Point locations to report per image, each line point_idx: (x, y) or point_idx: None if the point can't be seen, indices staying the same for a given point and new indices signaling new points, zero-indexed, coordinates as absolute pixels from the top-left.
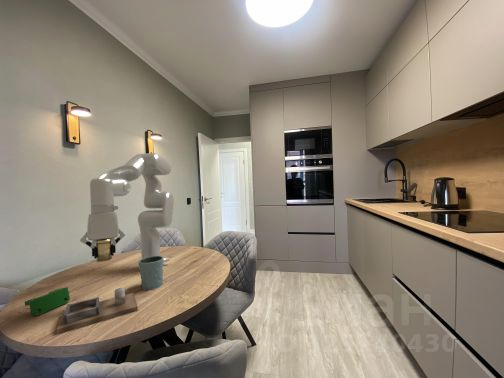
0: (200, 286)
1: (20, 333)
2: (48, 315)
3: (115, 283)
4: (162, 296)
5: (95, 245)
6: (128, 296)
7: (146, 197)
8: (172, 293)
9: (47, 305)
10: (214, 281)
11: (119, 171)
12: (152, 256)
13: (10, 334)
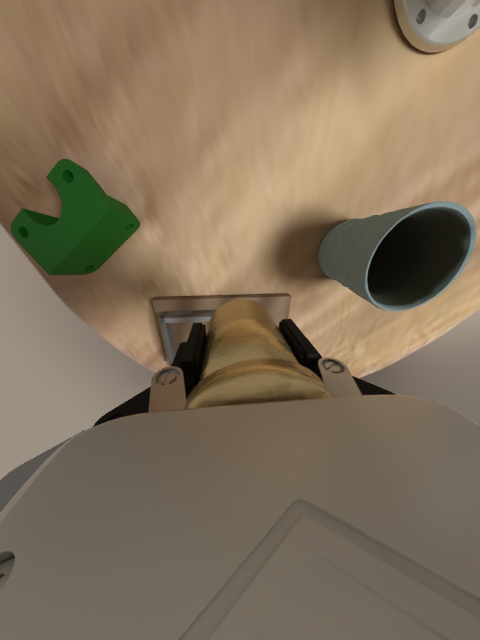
0: (405, 327)
1: (104, 327)
2: (121, 279)
3: (262, 128)
4: (331, 328)
5: (190, 388)
6: (277, 310)
7: None
8: (351, 326)
9: (97, 256)
10: (440, 321)
11: None
12: (455, 210)
13: (86, 322)
